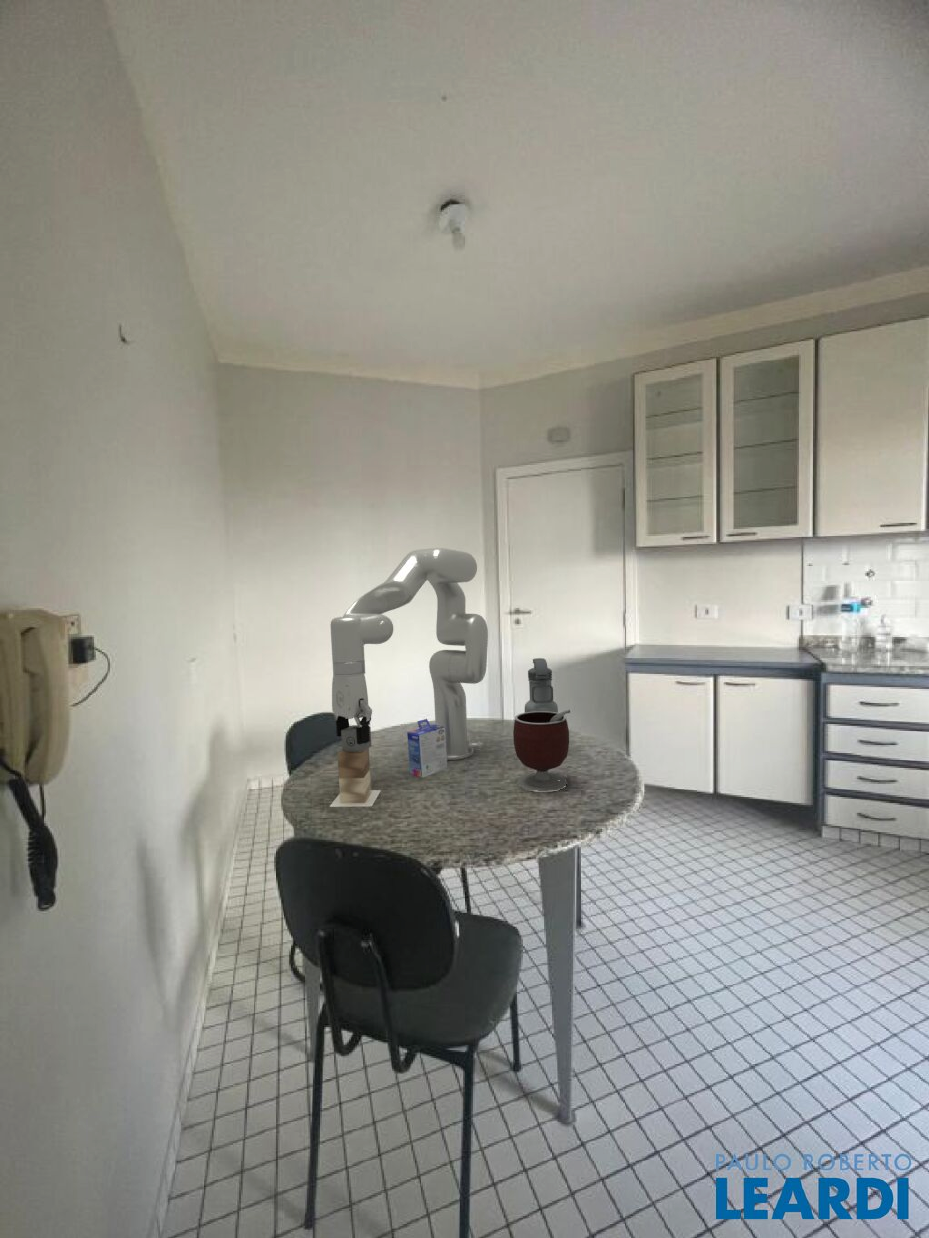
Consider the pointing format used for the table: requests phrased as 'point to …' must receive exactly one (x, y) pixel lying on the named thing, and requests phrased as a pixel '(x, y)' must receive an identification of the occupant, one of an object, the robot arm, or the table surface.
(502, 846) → the table surface
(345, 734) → the grey marked cube
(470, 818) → the table surface
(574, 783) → the table surface
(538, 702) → the water bottle
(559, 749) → the mate gourd
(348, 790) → the beech block
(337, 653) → the robot arm
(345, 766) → the walnut block
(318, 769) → the table surface
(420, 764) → the ink cartridge box
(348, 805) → the stone coaster
